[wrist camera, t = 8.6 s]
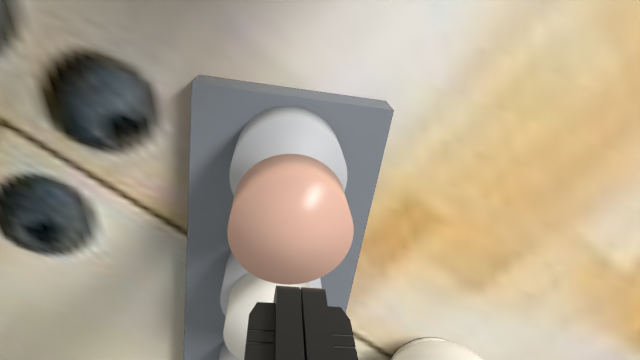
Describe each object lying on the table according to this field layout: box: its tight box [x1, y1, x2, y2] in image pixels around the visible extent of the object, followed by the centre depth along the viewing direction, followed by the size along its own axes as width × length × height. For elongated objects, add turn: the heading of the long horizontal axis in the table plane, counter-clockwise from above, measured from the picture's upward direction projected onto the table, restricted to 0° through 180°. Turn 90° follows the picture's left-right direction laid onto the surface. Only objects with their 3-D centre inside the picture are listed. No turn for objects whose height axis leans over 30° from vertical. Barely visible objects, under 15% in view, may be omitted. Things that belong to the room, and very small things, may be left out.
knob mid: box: [223, 273, 311, 360], centre depth 23 cm, size 5×5×2 cm
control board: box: [184, 75, 394, 360], centre depth 27 cm, size 23×11×5 cm, turn 171°
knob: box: [227, 154, 354, 285], centre depth 18 cm, size 5×5×2 cm
